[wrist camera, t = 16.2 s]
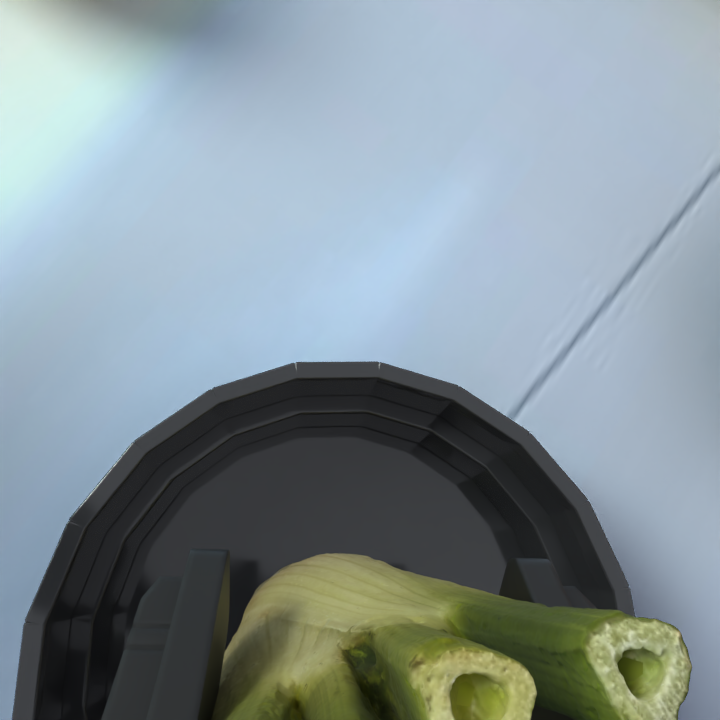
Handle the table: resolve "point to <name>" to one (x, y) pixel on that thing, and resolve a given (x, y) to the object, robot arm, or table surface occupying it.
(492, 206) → the table surface
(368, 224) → the table surface
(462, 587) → the fennel bulb
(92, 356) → the table surface
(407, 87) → the table surface
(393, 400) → the pan
